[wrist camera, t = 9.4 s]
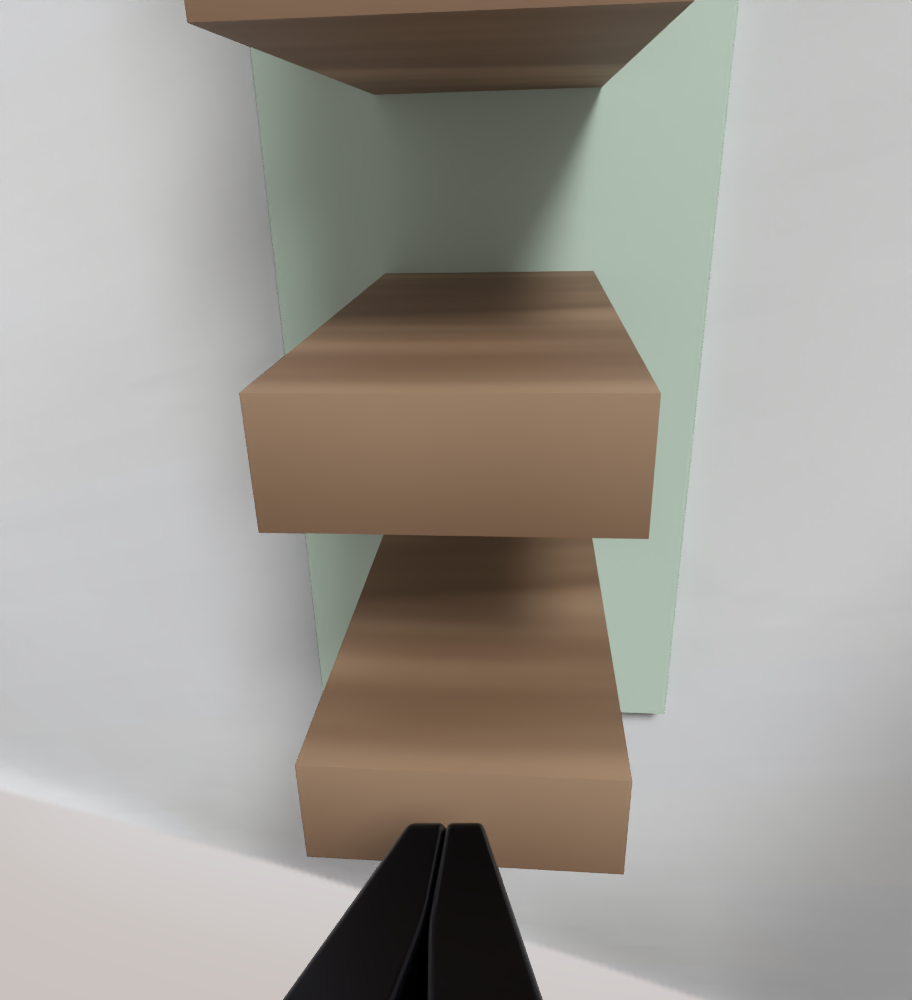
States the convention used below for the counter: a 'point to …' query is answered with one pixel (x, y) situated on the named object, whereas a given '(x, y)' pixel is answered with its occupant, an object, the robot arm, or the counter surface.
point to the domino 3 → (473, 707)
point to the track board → (519, 254)
